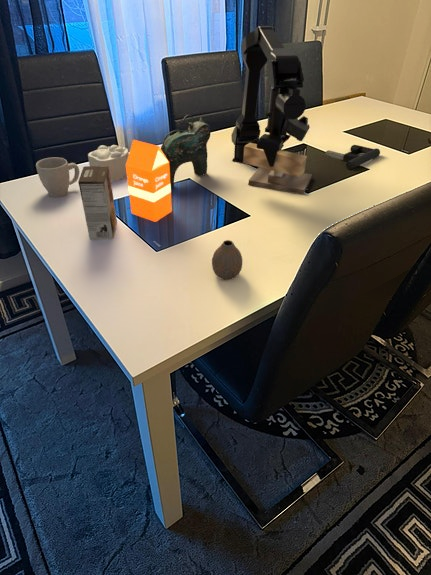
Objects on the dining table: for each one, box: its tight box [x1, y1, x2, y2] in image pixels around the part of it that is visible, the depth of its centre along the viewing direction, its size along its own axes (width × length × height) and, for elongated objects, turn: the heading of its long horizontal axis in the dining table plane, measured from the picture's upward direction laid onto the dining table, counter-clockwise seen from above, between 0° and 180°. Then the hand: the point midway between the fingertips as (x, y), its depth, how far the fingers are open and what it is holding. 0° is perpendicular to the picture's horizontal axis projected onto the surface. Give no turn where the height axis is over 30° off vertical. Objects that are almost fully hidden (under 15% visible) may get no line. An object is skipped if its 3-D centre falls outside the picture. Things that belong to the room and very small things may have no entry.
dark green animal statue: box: [160, 114, 211, 188], centre depth 131 cm, size 20×6×20 cm, turn 135°
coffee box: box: [77, 165, 118, 240], centre depth 106 cm, size 9×6×16 cm
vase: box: [211, 239, 243, 281], centre depth 94 cm, size 7×7×9 cm
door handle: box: [325, 144, 381, 170], centre depth 154 cm, size 3×20×16 cm
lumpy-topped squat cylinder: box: [87, 144, 130, 183], centre depth 137 cm, size 10×13×9 cm
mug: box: [35, 156, 81, 198], centre depth 125 cm, size 12×9×10 cm
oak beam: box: [243, 143, 308, 177], centre depth 120 cm, size 18×4×5 cm, turn 58°
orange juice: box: [126, 139, 173, 223], centre depth 113 cm, size 8×9×20 cm
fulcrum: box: [247, 167, 313, 195], centre depth 135 cm, size 18×13×6 cm
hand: (273, 163), depth 121 cm, fingers closed on oak beam, 4 cm apart
